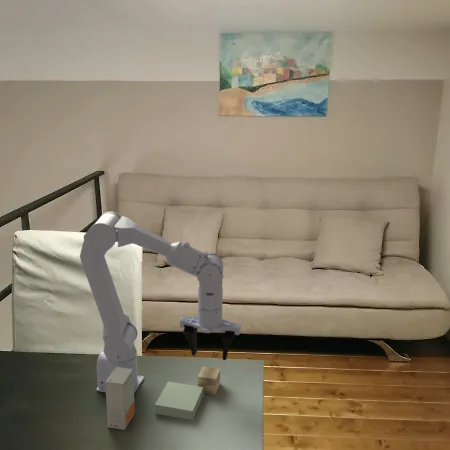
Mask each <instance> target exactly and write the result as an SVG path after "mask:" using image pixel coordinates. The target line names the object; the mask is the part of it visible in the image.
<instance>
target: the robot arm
mask: <svg viewBox="0 0 450 450" xmlns="http://www.w3.org/2000/svg"><path fill="white" fill-rule="evenodd" d="M116 243H117V248H121V247H125V246H128V245H132V244H133V245H136V246H139V247H141V248H143V249H145V250H148V251H151V252H153V253H156V254H158V255H160V256H163V257H165V258H166V261H167V263H168V265H170V266H172V267H175V268H177V269H178V270H180V271H182V272H184V273H187V274H189V275H191V276H194V277H196V279H197V281H198V282H199V283H198V288H197V293H198V294H197V295H198V296H197V316H181V318H180V319H179V327H180V328H183V331H182V335H183V336H184V338H185V340H186V341H187V343H188V345H189V348H190V351H191V356H193V357H195V356H196V354H197V353H198V329H199V330H201V332H202V333H204V334H211V332H223V336H222V339H221V340H222V348H223V349H222V361H226V360H227V358H228V355H229V354H228V353H229V349H230V346H231V344H232V342H233V341H234V339H235V337H236V336H239V335H240V333H241V329H242V328H241V327H242V325H241V324H242V323H236V322H233V321H230V320H227V319H223V297H224V296H223V290H224V288H223V279H224V261H223V260H222V258H221V257H220V256H219V255H217V254H216V253H214V252H208V251H204V252H203V251H201V250H199V249H197V248H194V247H192V246H190V244H191V242H188V241H184V242H182V241H176V242H170V241H168V240H167V239H165V238H163V237H162V236H159V235H158V234H155V233H154V232H152V231H150V230H148V229H146V228H144V227H143V226H141V225H139V224H137V223H135V222H134V221H133V220H131V219H130V218H129V217H126V216H123V215H122V216H121V215H120V214H119V213H117V212H114V211H106V212H104V213H103V214H101V215H100V216H99V218H98V219H97V220H96V221H95V223H94V224H93V225H91V226H90V227H89V229H88V230H87V231H86V232H85V234H84V235H83V242H82V246H81V250H80V253H79V254H80V255H79V260H80V262H81V265H82V268H83V271H84V273H85V276H86V279H87V282H88V284H89V288H90V290H91V293H92V296H93V299H94V301H95V305H96V306H97V310H98V313H99V316H100V319H101V321H102V324H103V326H102V340H103V342H104V345H103V350H102V351H101V352H100V353H99V355H98V357H97V361H96V377H97V378H96V379H97V387H96V391H97V392H100V393H106V387H105V382H106V380H107V379H108V377H109V376H110V374H111V373H112V372H113V371H114V369H115V368H116V367H122V368H128V369H133V384H134V394H135V392H136V391H137V390H138V388H139V387H140V386H141V383H142V382H143V381H144V377H145V376H144V375H138V374H139V373H138V355H137V354H138V353H137V352H138V351H137V348H136V346H135V341H136V339H137V337H138V329H137V327H136V326H135V325H134V324H133V323H132V322H131V320H130V316H128V315H127V314H125V313H124V310H123V307H122V304H121V301H120V298H119V296H118V293H117V289H116V287H115V284H114V281H113V278H112V275H111V271H110V269H109V266H108V263H107V259H106V256H105V255H106V254H107V252H108V251H109V250H111V249H112V248H113V247H114V246H115V244H116ZM235 335H236V336H235Z"/></svg>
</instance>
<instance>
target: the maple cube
mask: <svg viewBox="0 0 450 450" xmlns="http://www.w3.org/2000/svg"><path fill="white" fill-rule="evenodd" d="M220 385H221V368H216V367H209V366H204V365H202V367H201V369H200V371H199V373H198V375H197V386H199V387H203V394H207V395H208V394H209V395H216V396H217V392H218V389H219V388H220Z"/></svg>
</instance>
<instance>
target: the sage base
mask: <svg viewBox="0 0 450 450" xmlns="http://www.w3.org/2000/svg"><path fill="white" fill-rule="evenodd" d="M203 397H204V393H203V387H199V386H198V385H193V384H187V383H185V384H184V383H180V382H179V383H178V382H175V381H174V382H173V381H167V383H166V385H165V386H164V388H163V389H162V392H161V393H160V395H159V397H158V398H157V400H156V402H155V404H154V414H155V415H161V416H167V417H172V418H178V419H184V420H188V421H193V420H194V418H195V416H196V413H197V411H198V409H199V406H200V405H201V402H202V401H203Z"/></svg>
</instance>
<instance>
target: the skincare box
mask: <svg viewBox="0 0 450 450" xmlns="http://www.w3.org/2000/svg"><path fill="white" fill-rule="evenodd" d="M105 387H106V392H105V399H106V401H105V402H106V419H107V428H110V429H116V430H122V431H126V428H127V427H128V425H129V423H130V421H131V420H132V419H133V417H134V415H135V393H134V384H133V369H128V368H122V367H116V368H115V369H114V371H113V372H112V373H111V374H110V376H109V377H108V379H107V380H106V382H105Z"/></svg>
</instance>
